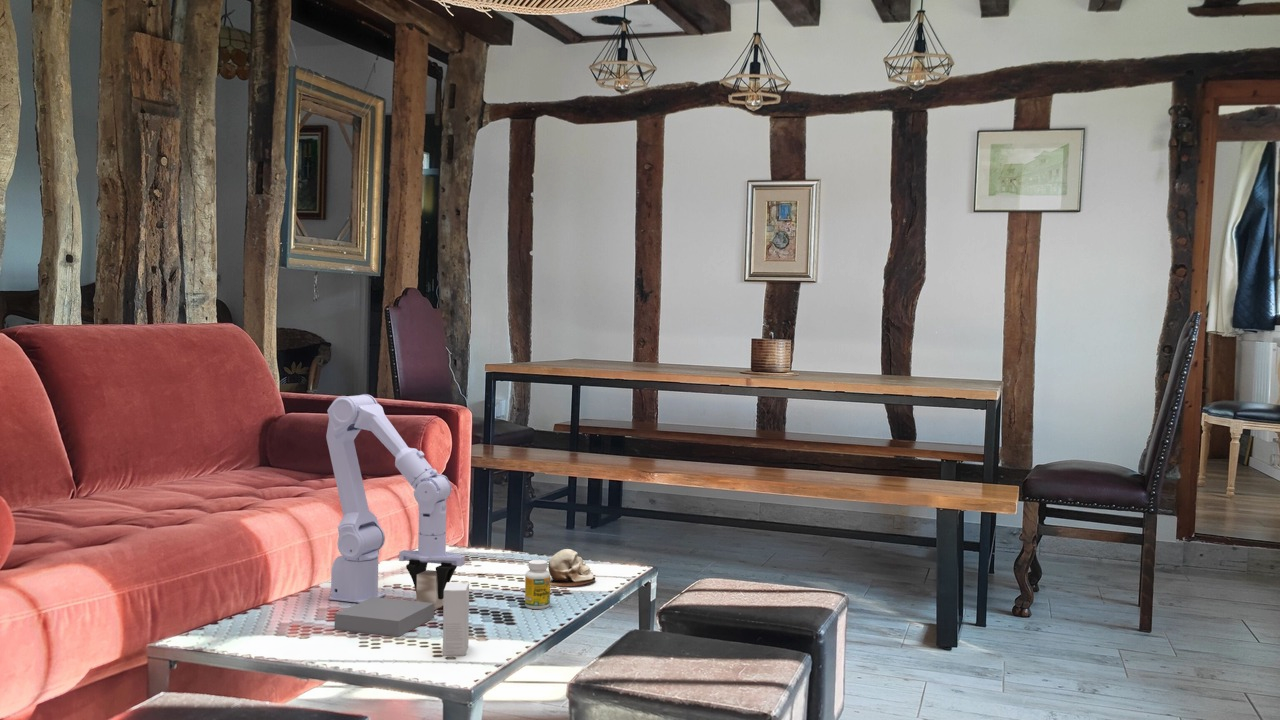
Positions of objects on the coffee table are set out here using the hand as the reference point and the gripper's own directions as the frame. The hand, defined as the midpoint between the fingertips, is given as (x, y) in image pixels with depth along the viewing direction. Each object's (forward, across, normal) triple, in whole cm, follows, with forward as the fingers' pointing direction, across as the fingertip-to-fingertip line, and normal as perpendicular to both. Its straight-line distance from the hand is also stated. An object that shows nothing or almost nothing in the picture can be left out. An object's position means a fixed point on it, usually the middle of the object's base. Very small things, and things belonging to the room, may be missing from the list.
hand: (431, 596), depth 217 cm
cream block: (+2, 0, 0) cm, 2 cm away
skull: (+2, +20, +32) cm, 37 cm away
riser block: (+2, -2, -15) cm, 15 cm away
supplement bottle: (+2, +21, +8) cm, 23 cm away
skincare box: (+2, +19, -26) cm, 32 cm away
